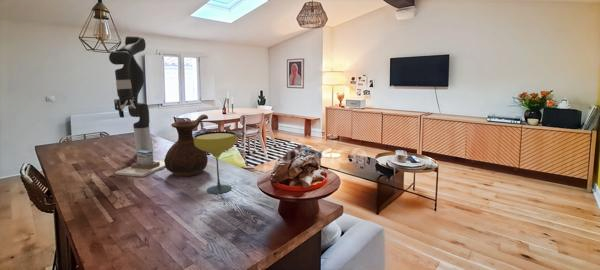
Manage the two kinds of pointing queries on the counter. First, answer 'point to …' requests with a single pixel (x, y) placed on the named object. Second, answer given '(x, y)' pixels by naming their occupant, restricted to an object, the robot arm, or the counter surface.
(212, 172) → the counter surface
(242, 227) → the counter surface
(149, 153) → the medicine box
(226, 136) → the cocktail glass
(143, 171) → the board
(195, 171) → the jug
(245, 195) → the counter surface
